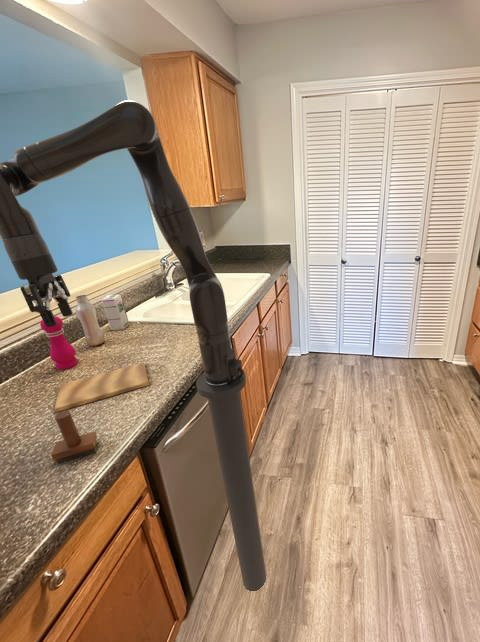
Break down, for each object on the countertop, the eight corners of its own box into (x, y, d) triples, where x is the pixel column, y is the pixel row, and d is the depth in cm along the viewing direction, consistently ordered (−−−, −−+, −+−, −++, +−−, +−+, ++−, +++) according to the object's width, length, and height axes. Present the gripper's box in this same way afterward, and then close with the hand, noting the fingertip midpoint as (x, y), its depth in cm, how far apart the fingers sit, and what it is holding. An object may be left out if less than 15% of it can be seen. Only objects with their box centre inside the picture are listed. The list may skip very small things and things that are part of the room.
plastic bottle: (87, 349, 124) (70, 300, 117) (87, 343, 130) (71, 296, 122) (106, 344, 127) (91, 296, 120) (105, 338, 133) (90, 292, 125)
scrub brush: (98, 441, 78) (84, 403, 74) (96, 453, 75) (81, 414, 70) (59, 452, 75) (43, 414, 71) (55, 465, 72) (37, 426, 67)
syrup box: (124, 329, 141) (115, 298, 135) (110, 330, 141) (100, 299, 135) (129, 324, 146) (121, 293, 140) (116, 325, 146) (107, 294, 140)
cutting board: (144, 365, 111) (144, 362, 111) (149, 385, 100) (148, 381, 99) (61, 387, 101) (60, 384, 100) (55, 412, 89) (54, 408, 89)
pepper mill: (82, 358, 118) (64, 307, 110) (73, 369, 111) (53, 315, 103) (61, 361, 117) (41, 309, 109) (50, 371, 110) (28, 317, 102)
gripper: (31, 256, 69) (63, 326, 74) (62, 249, 82) (87, 309, 87) (-8, 263, 68) (28, 334, 73) (30, 255, 81) (58, 315, 86)
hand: (60, 320), depth 80 cm, fingers open, 8 cm apart
